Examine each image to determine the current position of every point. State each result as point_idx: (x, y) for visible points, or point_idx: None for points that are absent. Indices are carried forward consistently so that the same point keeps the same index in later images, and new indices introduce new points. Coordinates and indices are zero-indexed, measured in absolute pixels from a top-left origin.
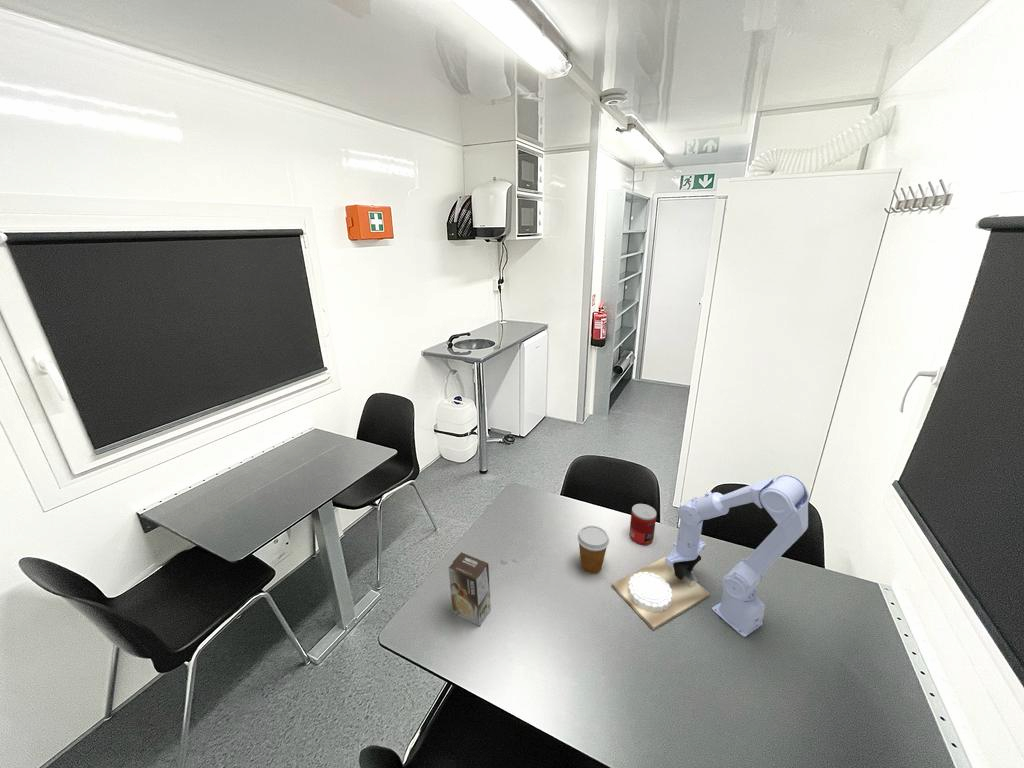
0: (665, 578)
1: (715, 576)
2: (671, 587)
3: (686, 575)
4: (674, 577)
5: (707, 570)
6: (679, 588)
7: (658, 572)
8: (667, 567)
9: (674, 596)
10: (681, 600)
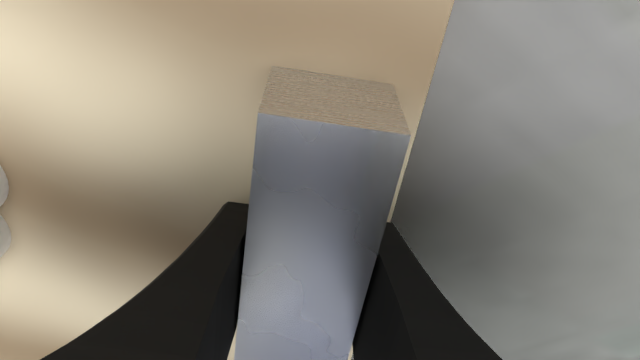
0: (99, 136)
1: (592, 347)
2: (69, 240)
3: (261, 356)
4: (221, 188)
5: (629, 286)
6: (140, 288)
7: (86, 12)
8: (291, 40)
9: (16, 304)
10: (47, 352)
